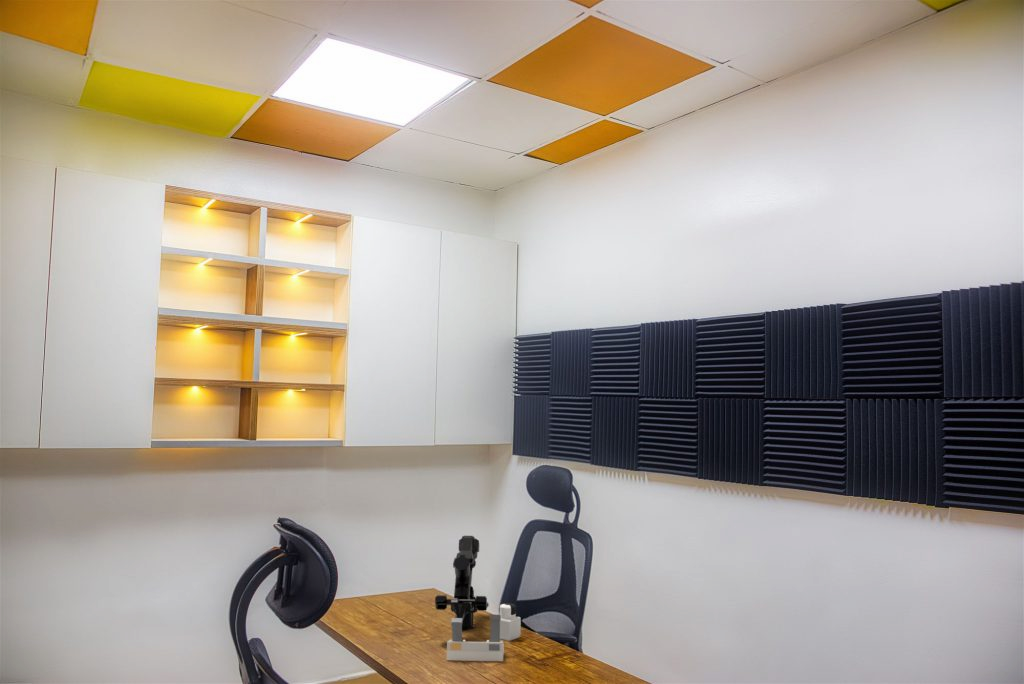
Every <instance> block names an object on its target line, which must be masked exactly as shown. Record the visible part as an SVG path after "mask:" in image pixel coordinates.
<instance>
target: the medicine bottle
mask: <svg viewBox="0 0 1024 684" xmlns="http://www.w3.org/2000/svg"><path fill="white" fill-rule="evenodd" d="M499 615H501V620H500V640H503V641H507V642H511V641H514V640H516V639H518V638H520V637H521V635H522V634H521V627H522V626H521V625H522V624H521V622H522V621H521V617H520V616H516V615H517V606H516V604H514V603H510V602H505V603H501V604H499Z"/></svg>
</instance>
